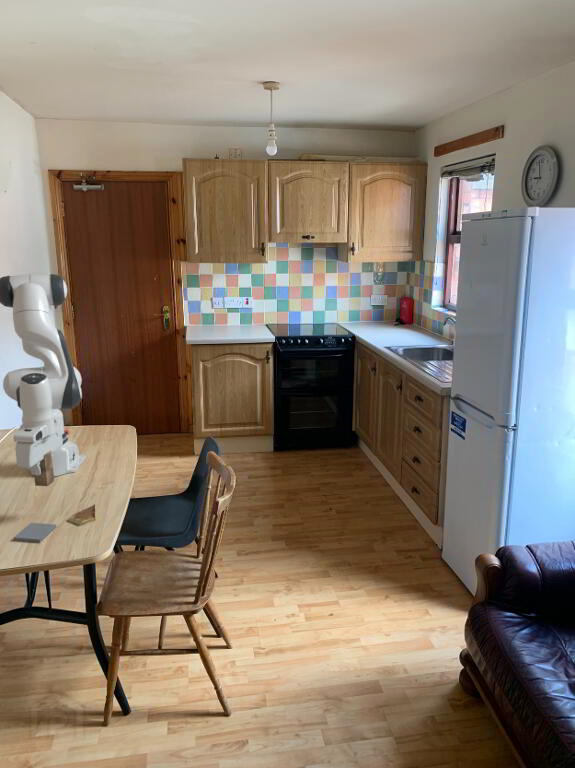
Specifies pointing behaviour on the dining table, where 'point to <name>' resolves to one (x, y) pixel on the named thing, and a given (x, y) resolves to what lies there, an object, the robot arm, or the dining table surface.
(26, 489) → the dining table surface
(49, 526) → the slate board
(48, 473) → the walnut block
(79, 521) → the shard
